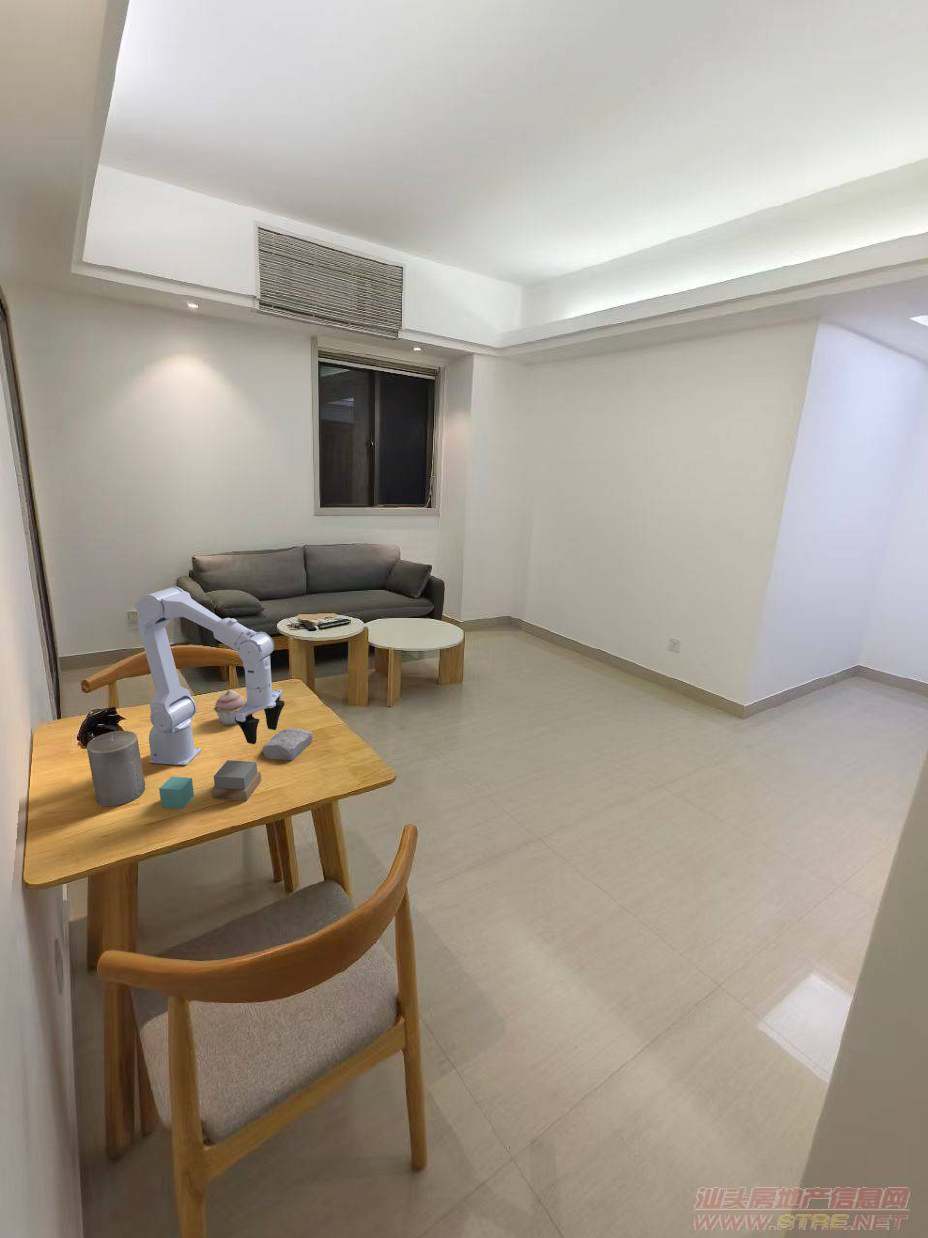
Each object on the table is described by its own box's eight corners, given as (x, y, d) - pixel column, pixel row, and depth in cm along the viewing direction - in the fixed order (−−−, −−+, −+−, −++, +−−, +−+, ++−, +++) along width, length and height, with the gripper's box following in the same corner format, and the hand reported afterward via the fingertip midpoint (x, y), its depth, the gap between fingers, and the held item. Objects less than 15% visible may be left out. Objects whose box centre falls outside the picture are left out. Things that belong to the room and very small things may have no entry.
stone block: (260, 763, 145) (295, 762, 143) (256, 746, 144) (291, 745, 142) (284, 743, 156) (316, 741, 154) (280, 727, 155) (312, 725, 153)
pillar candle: (113, 781, 132) (103, 724, 127) (154, 783, 131) (145, 726, 127) (85, 806, 122) (74, 745, 118) (129, 808, 122) (119, 748, 118)
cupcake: (213, 717, 165) (210, 686, 162) (246, 711, 169) (244, 681, 166) (216, 731, 157) (213, 698, 154) (251, 724, 161) (248, 693, 158)
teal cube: (161, 807, 123) (159, 788, 122) (173, 794, 128) (171, 776, 126) (182, 808, 123) (180, 790, 121) (194, 796, 127) (192, 777, 126)
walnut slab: (212, 800, 127) (211, 788, 126) (229, 780, 134) (228, 769, 134) (247, 802, 126) (246, 791, 126) (261, 783, 134) (260, 772, 133)
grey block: (214, 788, 126) (213, 776, 126) (228, 771, 133) (227, 760, 132) (245, 789, 126) (244, 778, 125) (257, 773, 133) (256, 761, 132)
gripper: (252, 699, 124) (255, 753, 127) (291, 676, 137) (294, 726, 141) (226, 693, 126) (230, 747, 130) (267, 671, 139) (270, 720, 143)
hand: (262, 735), depth 135 cm, fingers open, 7 cm apart
